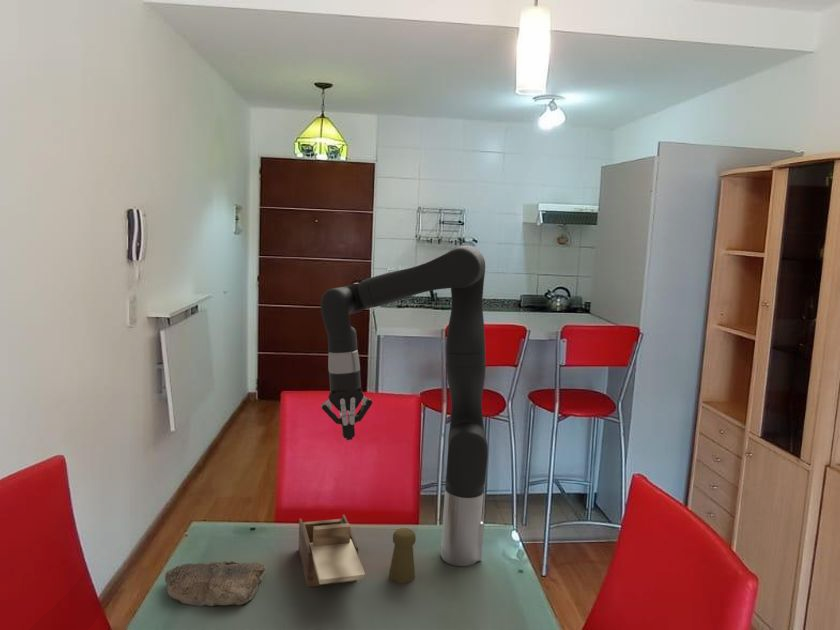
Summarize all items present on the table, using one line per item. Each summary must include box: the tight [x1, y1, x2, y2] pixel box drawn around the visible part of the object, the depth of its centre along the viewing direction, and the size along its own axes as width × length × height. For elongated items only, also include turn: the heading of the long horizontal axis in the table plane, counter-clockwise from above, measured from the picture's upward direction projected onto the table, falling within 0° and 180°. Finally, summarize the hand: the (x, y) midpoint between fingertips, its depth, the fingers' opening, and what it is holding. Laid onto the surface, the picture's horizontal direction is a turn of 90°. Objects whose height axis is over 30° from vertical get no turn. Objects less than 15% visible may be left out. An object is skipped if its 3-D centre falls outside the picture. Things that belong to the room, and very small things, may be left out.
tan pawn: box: [388, 527, 417, 584], centre depth 146 cm, size 6×6×11 cm
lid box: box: [298, 514, 359, 588], centre depth 149 cm, size 11×16×8 cm
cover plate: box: [310, 522, 366, 584], centre depth 137 cm, size 9×15×5 cm, turn 18°
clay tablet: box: [164, 560, 266, 607], centre depth 138 cm, size 14×5×20 cm
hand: (349, 439), depth 158 cm, fingers closed
